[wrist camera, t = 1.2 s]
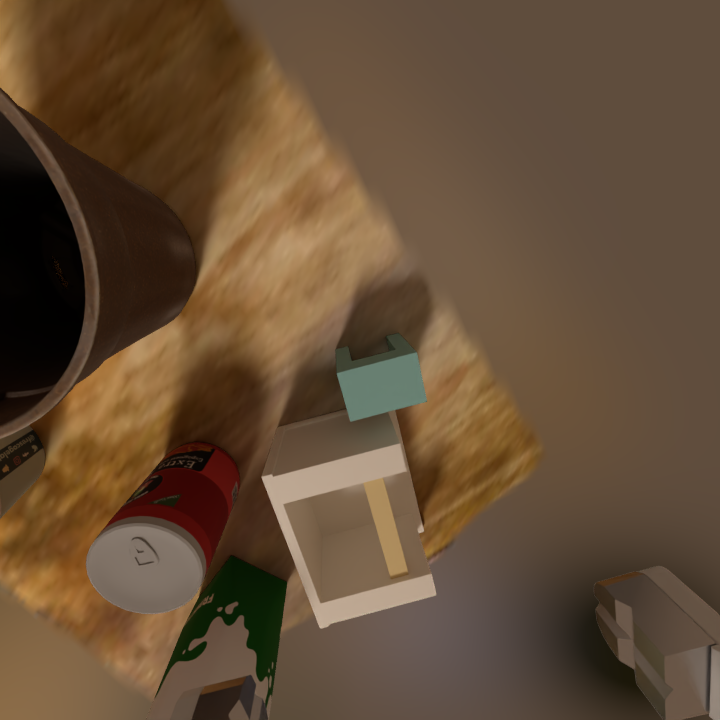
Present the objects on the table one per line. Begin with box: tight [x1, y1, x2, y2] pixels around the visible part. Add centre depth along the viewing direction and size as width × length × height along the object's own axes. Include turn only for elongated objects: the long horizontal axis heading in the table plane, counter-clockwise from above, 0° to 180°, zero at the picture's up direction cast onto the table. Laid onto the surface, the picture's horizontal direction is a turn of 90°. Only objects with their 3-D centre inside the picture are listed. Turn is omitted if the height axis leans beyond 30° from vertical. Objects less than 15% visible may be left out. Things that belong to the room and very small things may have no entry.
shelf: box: [261, 409, 436, 628], centre depth 32 cm, size 16×11×8 cm
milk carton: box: [146, 556, 287, 720], centre depth 29 cm, size 9×9×20 cm
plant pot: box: [0, 88, 196, 439], centre depth 20 cm, size 16×16×16 cm
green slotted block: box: [335, 333, 427, 422], centre depth 29 cm, size 4×6×7 cm, turn 104°
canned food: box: [86, 442, 240, 614], centre depth 29 cm, size 8×8×11 cm
